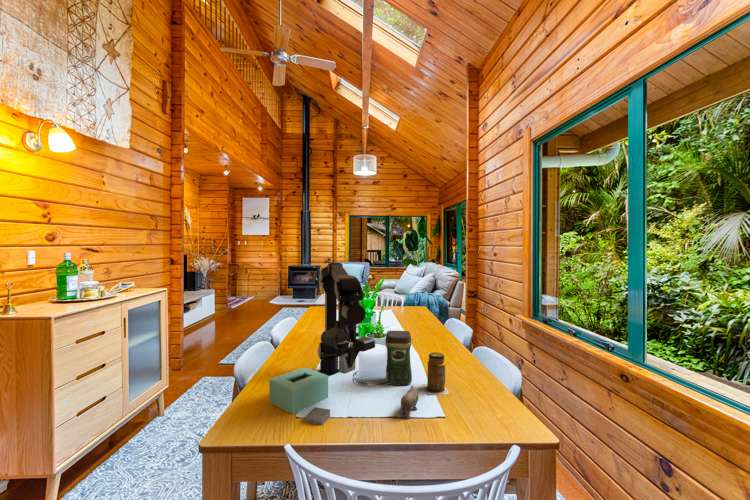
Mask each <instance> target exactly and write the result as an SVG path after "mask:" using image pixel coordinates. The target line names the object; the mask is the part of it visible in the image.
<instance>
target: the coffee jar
mask: <svg viewBox="0 0 750 500" xmlns="http://www.w3.org/2000/svg"><path fill="white" fill-rule="evenodd" d="M384 343H385V346H386V364H387V365H386V367H385V382H386V383H387V384H389V385H392V386H393V385H397V386H404V385H405V386H407V385H409V384H411V383H412V382H413V381H412V380H413V375H412V365H411V347H412V343H413V342H412V336H411V332H410V330H387V331H386V333H385V342H384Z"/></svg>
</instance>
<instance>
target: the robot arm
mask: <svg viewBox="0 0 750 500" xmlns="http://www.w3.org/2000/svg"><path fill="white" fill-rule="evenodd" d="M318 279H319V283H320V287H321V289H322V290H323V293H324V331H322V333H321V336H320V342H319V344H318V346H317V347H318V348H317V356H318V358H319V359H320V361H319V370H318V371H317V372H320V373H322V374H325V375H328V377H329V376H331V375H335V374H337V373H340V372H339V356H341V355H343V354H346V353H348V366H349V368H352V366H353V364H354V362H355V363H356V359H357V356H358V355H359V353H360V352H366V351H370V350H372V349H375V348H376V341H375V339H374V338H373V337H368V336H363V337H360V333H359V332H357V325H359V324H361V323H362V322H363V321H365V319H366V310H365V308H364V307H363V306H362V305H360V301H364V296H365V295H364V291H363V286H362V284H361V281H360V280H359V279H358V278H357V277H356V276H355V275H352V274H351V275H350V274H349V273H348V272H347V270H346V269H345V268H344V267H343V263H341V262H328V263H327V265H326V266H325V267H324V268H321V269H320V272H319V278H318ZM337 302H338V303H337ZM337 309H338V310H337ZM358 337H359V338H358Z"/></svg>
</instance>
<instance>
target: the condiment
mask: <svg viewBox="0 0 750 500" xmlns="http://www.w3.org/2000/svg"><path fill="white" fill-rule="evenodd" d="M423 385H424V389H425V391H426V392H427V394H428V395H435V396H436V395H437V396H439V395H441V396H442V395H450V393H449V391H448V389H447V387H446V362H445V355H444V354H443V353H441V352H435V351H434V352H430V353H429V354H428V362H427V383H424V384H423Z"/></svg>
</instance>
